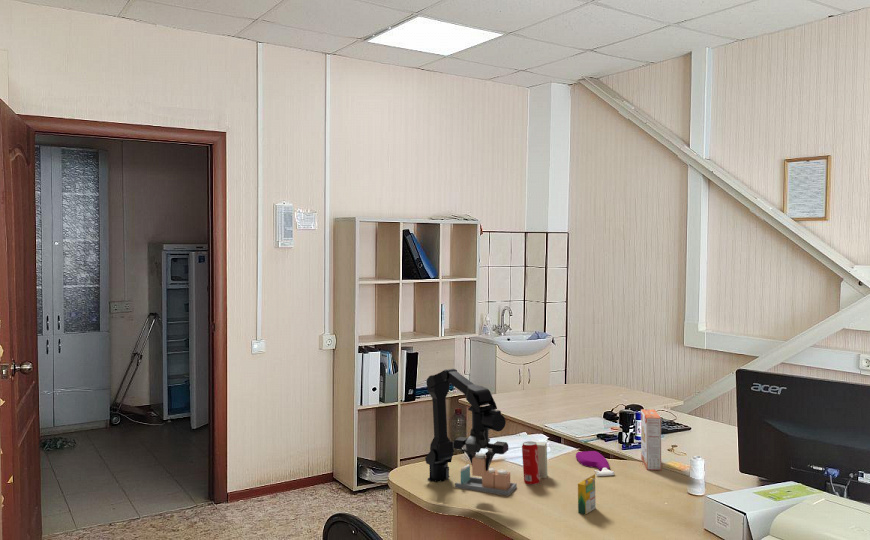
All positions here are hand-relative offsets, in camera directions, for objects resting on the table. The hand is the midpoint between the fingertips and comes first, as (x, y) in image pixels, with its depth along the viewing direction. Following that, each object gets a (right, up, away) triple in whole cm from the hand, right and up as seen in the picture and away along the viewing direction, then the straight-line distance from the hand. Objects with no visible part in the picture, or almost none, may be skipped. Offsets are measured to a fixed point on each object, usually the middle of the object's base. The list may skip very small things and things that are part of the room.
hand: (480, 469), depth 241 cm
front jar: (+8, -9, +8) cm, 15 cm away
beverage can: (+20, -10, +16) cm, 27 cm away
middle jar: (+4, -9, +10) cm, 14 cm away
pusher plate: (-5, -9, +14) cm, 17 cm away
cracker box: (+70, -9, +36) cm, 80 cm away
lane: (+3, -10, +10) cm, 14 cm away
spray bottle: (+48, -9, +35) cm, 60 cm away
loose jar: (0, -2, 0) cm, 2 cm away
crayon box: (+34, -11, -11) cm, 38 cm away
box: (+24, -10, +23) cm, 34 cm away
